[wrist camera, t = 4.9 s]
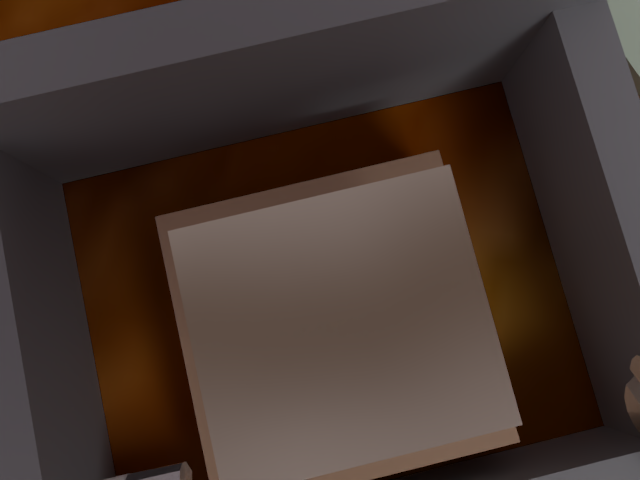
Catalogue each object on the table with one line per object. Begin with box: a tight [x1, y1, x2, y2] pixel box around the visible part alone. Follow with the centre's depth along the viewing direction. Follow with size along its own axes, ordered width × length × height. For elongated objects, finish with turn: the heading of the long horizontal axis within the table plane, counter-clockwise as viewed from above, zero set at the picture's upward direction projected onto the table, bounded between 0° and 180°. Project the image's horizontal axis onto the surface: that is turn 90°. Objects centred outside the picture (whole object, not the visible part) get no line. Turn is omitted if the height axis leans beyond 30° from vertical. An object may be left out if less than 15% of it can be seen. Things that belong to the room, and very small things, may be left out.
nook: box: [0, 0, 640, 480], centre depth 18 cm, size 16×20×7 cm
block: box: [168, 164, 523, 480], centre depth 14 cm, size 4×5×8 cm
